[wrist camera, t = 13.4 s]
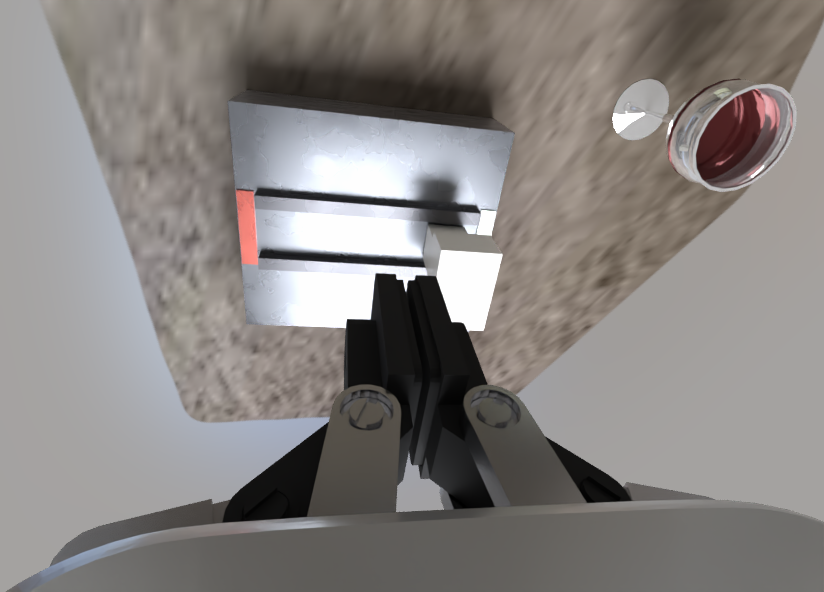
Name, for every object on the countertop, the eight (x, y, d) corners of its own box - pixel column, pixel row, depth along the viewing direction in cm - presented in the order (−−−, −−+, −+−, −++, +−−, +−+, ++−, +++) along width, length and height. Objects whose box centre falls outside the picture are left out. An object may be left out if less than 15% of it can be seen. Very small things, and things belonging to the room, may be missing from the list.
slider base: (246, 89, 34) (223, 103, 28) (493, 118, 37) (519, 135, 31) (259, 289, 43) (244, 330, 37) (456, 298, 46) (471, 338, 40)
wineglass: (631, 165, 41) (722, 211, 31) (587, 116, 38) (671, 149, 28) (693, 104, 39) (814, 132, 28) (651, 47, 36) (769, 56, 26)
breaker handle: (424, 205, 34) (441, 250, 27) (473, 209, 35) (502, 254, 28) (414, 273, 37) (427, 328, 30) (460, 276, 38) (483, 330, 31)
